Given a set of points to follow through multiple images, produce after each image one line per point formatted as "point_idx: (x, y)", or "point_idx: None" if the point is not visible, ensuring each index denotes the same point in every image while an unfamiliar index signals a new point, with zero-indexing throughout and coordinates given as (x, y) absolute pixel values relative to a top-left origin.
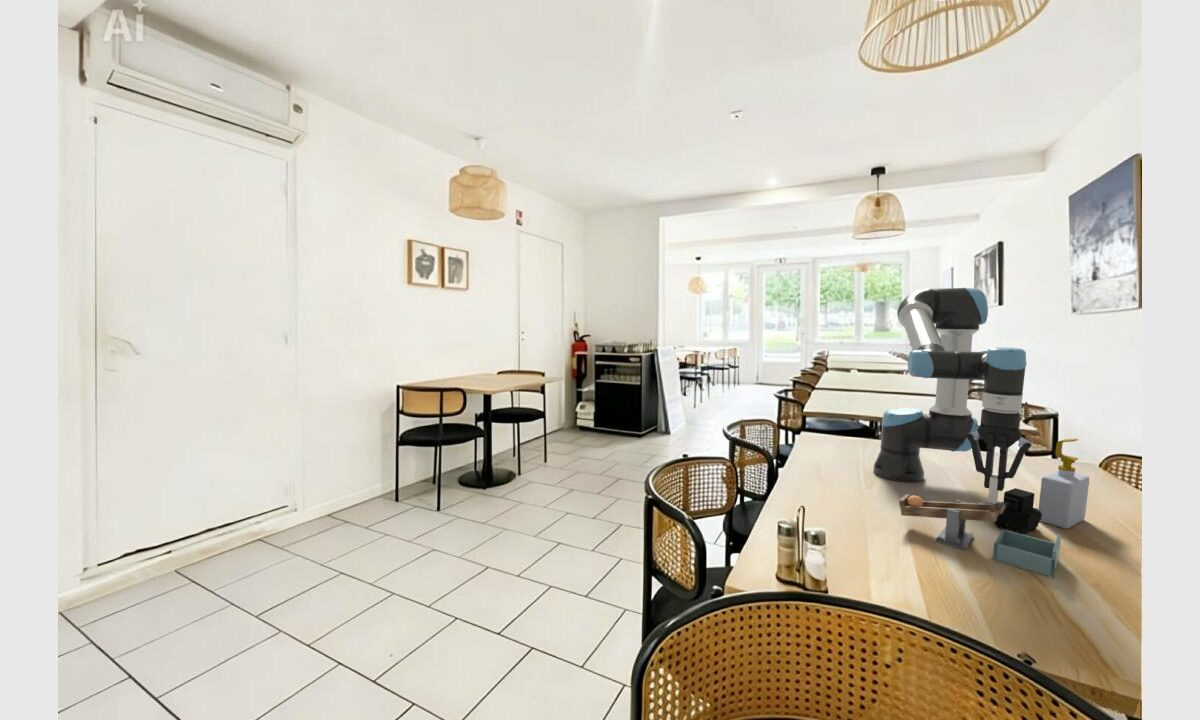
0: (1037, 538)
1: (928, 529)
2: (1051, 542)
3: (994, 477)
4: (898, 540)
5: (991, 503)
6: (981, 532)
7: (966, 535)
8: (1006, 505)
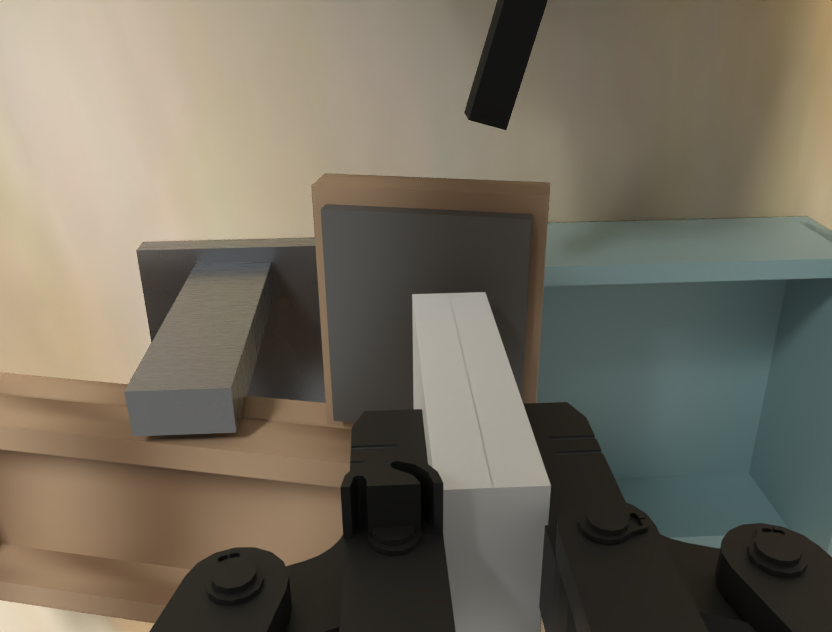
0: (741, 264)
1: (64, 337)
2: (824, 265)
3: (490, 607)
4: (34, 618)
5: (429, 287)
6: (348, 88)
7: (296, 309)
8: (539, 11)
